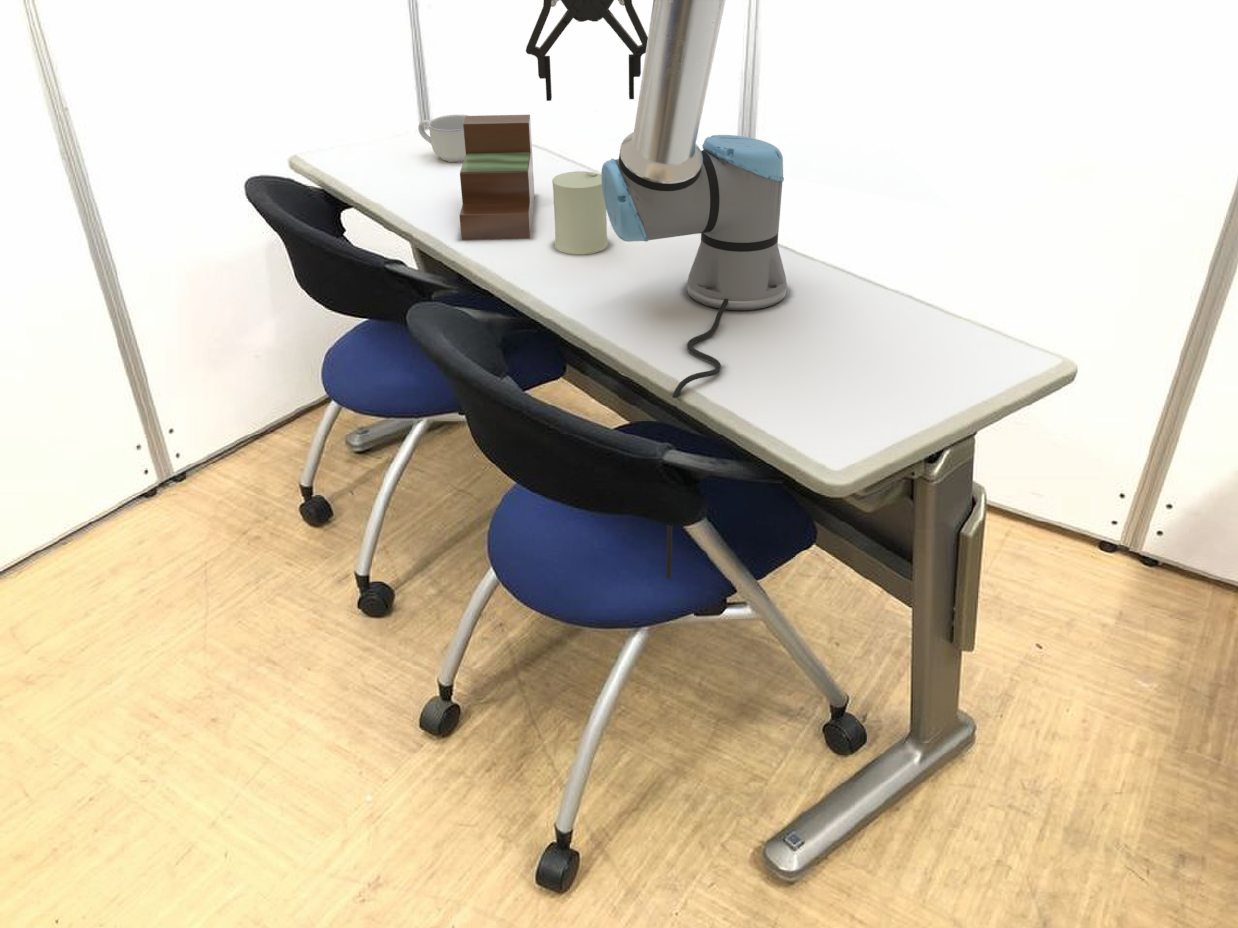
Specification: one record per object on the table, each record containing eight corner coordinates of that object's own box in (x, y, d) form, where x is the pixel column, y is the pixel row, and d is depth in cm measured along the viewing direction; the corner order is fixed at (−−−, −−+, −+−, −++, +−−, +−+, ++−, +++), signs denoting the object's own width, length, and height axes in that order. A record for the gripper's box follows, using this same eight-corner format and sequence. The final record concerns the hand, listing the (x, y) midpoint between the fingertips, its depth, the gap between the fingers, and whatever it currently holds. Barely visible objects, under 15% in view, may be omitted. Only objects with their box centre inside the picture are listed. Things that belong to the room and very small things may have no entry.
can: (619, 244, 181) (618, 175, 175) (582, 259, 175) (580, 188, 169) (580, 232, 186) (578, 165, 180) (543, 246, 180) (540, 177, 174)
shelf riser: (530, 238, 184) (525, 150, 176) (461, 240, 184) (453, 151, 175) (534, 195, 204) (530, 114, 196) (472, 197, 204) (465, 116, 196)
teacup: (491, 155, 228) (489, 118, 224) (460, 168, 220) (456, 129, 216) (442, 147, 235) (439, 110, 230) (410, 159, 227) (405, 121, 223)
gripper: (665, -48, 165) (664, 92, 176) (507, -45, 165) (516, 94, 176) (668, -43, 159) (667, 102, 170) (504, -40, 158) (513, 105, 169)
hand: (590, 98), depth 173 cm, fingers open, 13 cm apart
